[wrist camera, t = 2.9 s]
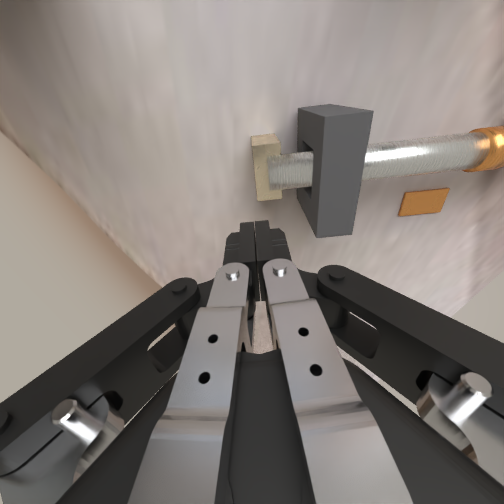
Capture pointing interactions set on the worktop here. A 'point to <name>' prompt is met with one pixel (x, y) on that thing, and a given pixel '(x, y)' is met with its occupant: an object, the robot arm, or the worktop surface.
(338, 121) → the collar
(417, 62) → the worktop surface
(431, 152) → the pipe
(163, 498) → the robot arm
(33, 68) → the worktop surface
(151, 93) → the worktop surface
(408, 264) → the worktop surface
